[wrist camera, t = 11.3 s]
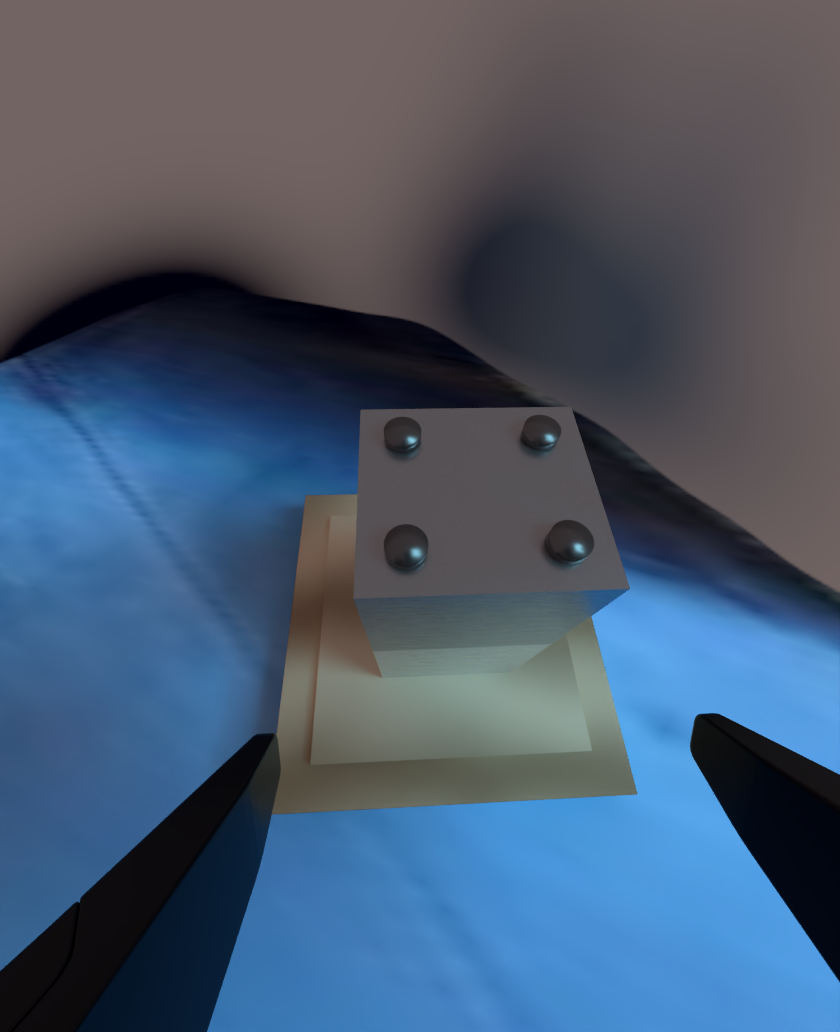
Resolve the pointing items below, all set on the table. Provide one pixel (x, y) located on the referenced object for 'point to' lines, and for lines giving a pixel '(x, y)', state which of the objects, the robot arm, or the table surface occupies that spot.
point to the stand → (428, 707)
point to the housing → (476, 537)
